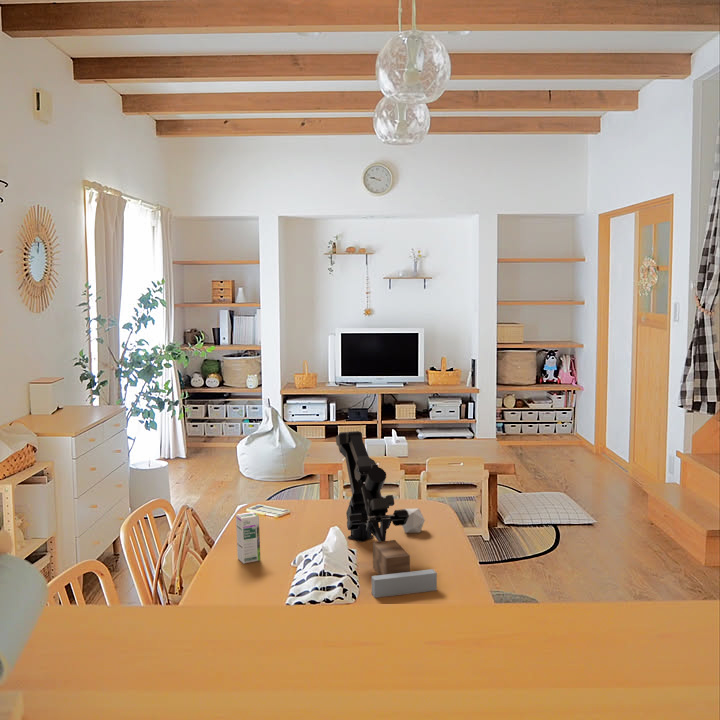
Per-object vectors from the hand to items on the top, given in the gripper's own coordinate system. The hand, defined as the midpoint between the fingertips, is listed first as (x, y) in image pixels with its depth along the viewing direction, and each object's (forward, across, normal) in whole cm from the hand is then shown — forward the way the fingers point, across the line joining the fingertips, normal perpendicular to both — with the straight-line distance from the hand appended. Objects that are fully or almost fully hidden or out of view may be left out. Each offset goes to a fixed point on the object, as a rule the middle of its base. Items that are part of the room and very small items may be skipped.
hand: (383, 544), depth 232 cm
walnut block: (+10, 0, 0) cm, 10 cm away
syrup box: (-8, -39, +17) cm, 43 cm away
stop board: (+19, 0, -10) cm, 21 cm away
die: (-15, +19, +25) cm, 35 cm away
